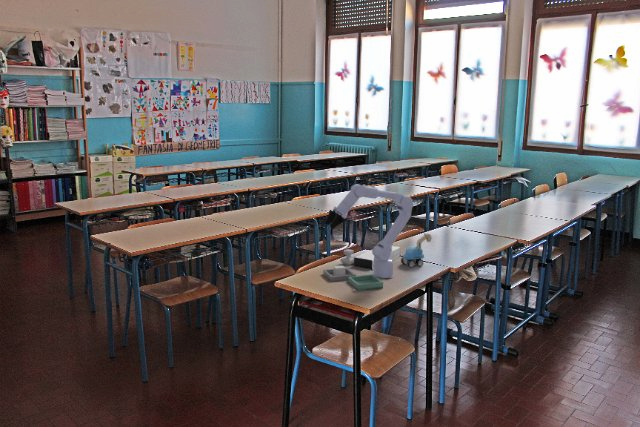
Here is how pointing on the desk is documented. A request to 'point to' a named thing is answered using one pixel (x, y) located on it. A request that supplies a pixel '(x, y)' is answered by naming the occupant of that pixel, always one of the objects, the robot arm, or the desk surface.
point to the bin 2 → (365, 282)
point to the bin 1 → (330, 276)
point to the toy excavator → (415, 253)
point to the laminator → (368, 258)
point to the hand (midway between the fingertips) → (328, 225)
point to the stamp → (348, 257)
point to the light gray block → (339, 271)
